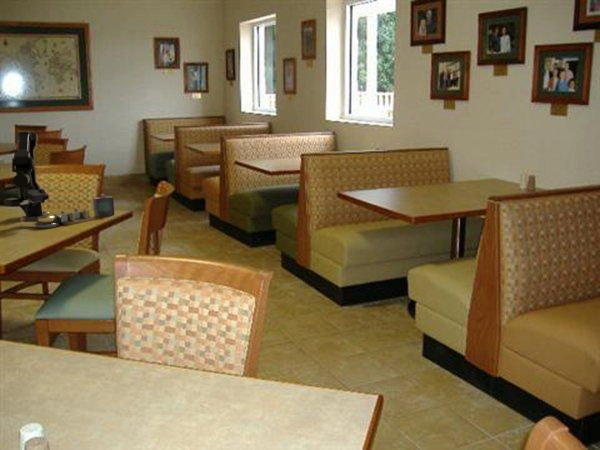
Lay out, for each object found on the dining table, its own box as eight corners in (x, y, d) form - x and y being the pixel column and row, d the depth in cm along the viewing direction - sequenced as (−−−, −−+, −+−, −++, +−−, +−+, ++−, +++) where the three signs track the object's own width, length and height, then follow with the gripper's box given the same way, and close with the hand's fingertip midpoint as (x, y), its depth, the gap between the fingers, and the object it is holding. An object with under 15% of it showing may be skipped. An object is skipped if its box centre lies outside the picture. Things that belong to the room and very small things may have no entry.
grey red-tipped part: (58, 220, 274) (57, 214, 273) (50, 224, 267) (50, 218, 266) (25, 220, 275) (24, 214, 274) (17, 223, 268) (16, 217, 267)
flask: (94, 217, 288) (92, 195, 286) (94, 216, 291) (92, 194, 289) (115, 215, 292) (113, 193, 290) (114, 214, 295) (112, 192, 292)
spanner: (54, 220, 274) (53, 214, 274) (83, 215, 287) (83, 209, 286) (61, 222, 271) (61, 215, 271) (90, 217, 284) (90, 210, 284)
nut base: (30, 227, 270) (28, 212, 268) (50, 222, 278) (48, 208, 276) (44, 229, 264) (42, 215, 263) (64, 225, 272) (62, 211, 271)
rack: (55, 223, 277) (54, 212, 276) (81, 217, 289) (80, 206, 287) (68, 225, 272) (67, 214, 271) (94, 219, 284) (93, 209, 283)
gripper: (17, 188, 257) (22, 224, 261) (55, 181, 273) (59, 215, 277) (1, 186, 263) (6, 222, 267) (38, 179, 278) (42, 213, 282)
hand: (29, 218), depth 273 cm, fingers closed
